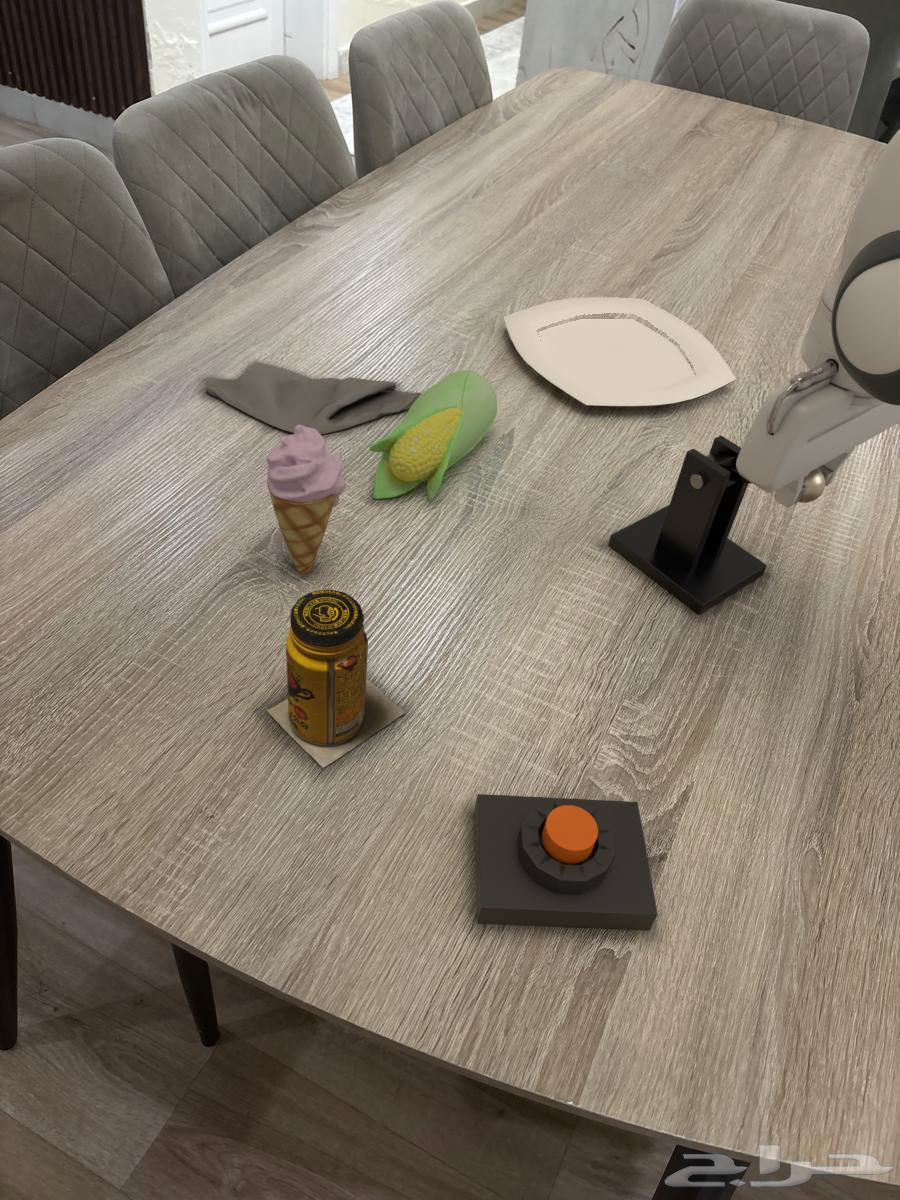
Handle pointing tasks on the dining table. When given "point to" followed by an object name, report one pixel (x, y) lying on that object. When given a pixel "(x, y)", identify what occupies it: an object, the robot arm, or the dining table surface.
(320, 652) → the condiment
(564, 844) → the power button
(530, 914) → the dark grey button base
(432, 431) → the corn
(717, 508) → the ball handle lever stand
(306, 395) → the cloth
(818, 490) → the switch lever
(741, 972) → the dining table surface
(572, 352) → the plate
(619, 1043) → the dining table surface
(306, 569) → the ice cream cone
